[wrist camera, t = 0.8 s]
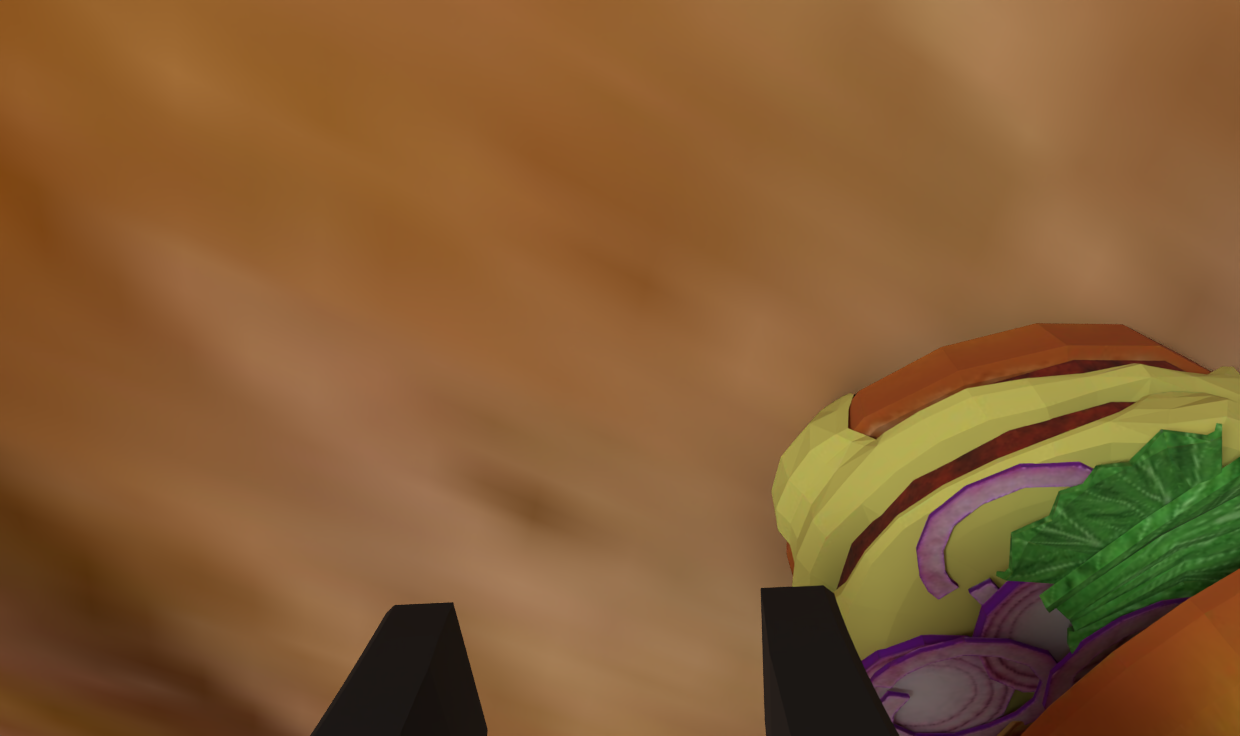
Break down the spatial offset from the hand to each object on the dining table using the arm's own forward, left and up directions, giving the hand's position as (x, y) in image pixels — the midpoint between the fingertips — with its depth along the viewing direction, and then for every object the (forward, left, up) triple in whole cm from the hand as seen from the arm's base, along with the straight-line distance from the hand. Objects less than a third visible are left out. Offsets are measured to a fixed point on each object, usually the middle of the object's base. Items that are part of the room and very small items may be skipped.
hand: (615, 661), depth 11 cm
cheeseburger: (-7, -8, -10) cm, 15 cm away
